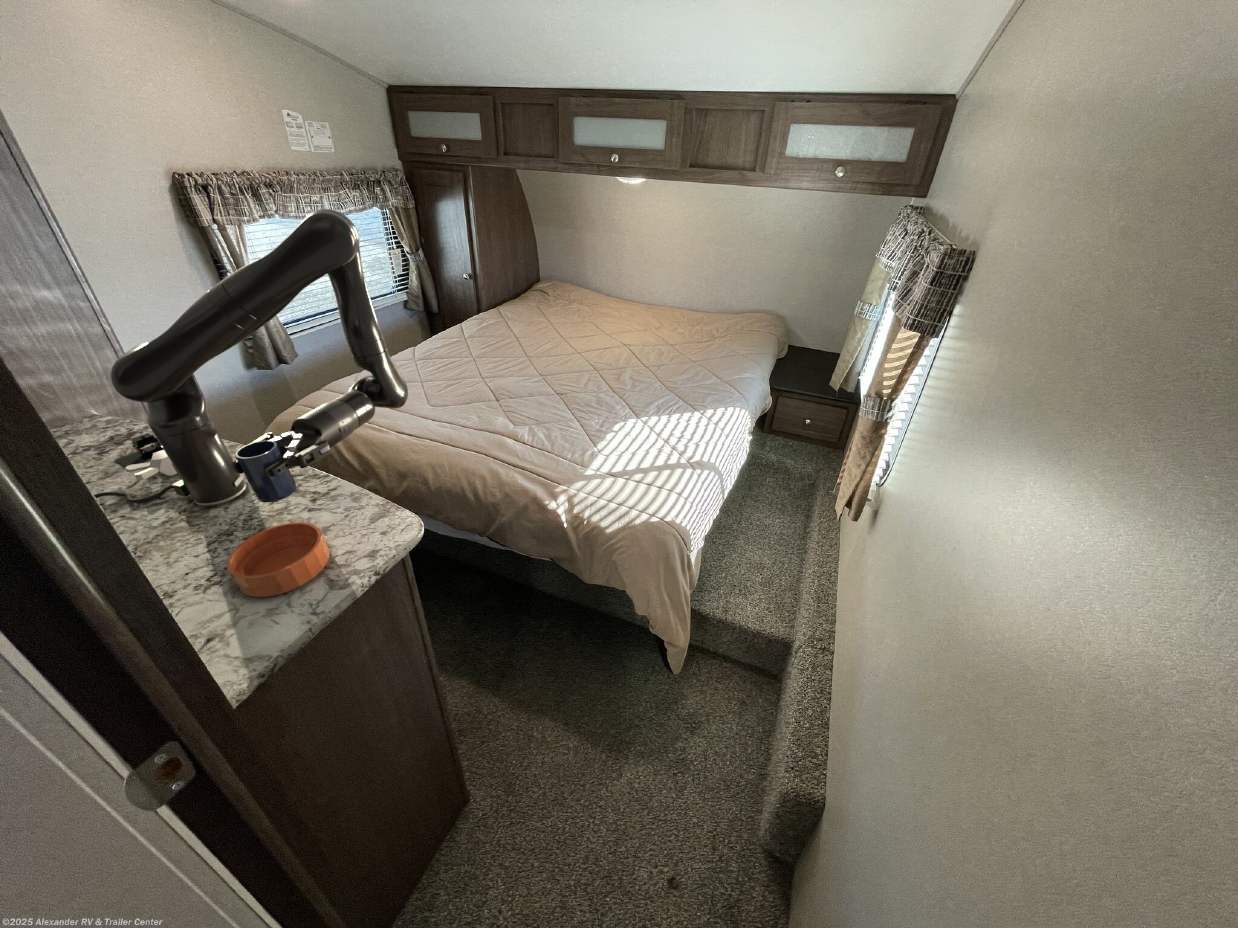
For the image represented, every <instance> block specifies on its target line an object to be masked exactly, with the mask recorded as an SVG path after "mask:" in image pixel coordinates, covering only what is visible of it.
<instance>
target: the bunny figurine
mask: <svg viewBox="0 0 1238 928" xmlns="http://www.w3.org/2000/svg"><path fill="white" fill-rule="evenodd" d="M140 470H141V471H140ZM137 471H139V472H137ZM125 472H126V473H132V472H136V473H134V477H135V479H136V480H137V481H143V480H147V479H148V478H150V477H152V476H153V475H155V474H159V475H164V476H168V477H172V476H174V475H178V474H177V472H176V471H175V469H174V467H173V466H172V464H171V461H170V459H169V458H168V456H167V454H166V453H165V451H164V450H161V451H158V452H156V453H153V456H152V459H150V461H149V462H142V463H139V464H134V465H128V466H127V467H125Z"/></svg>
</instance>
